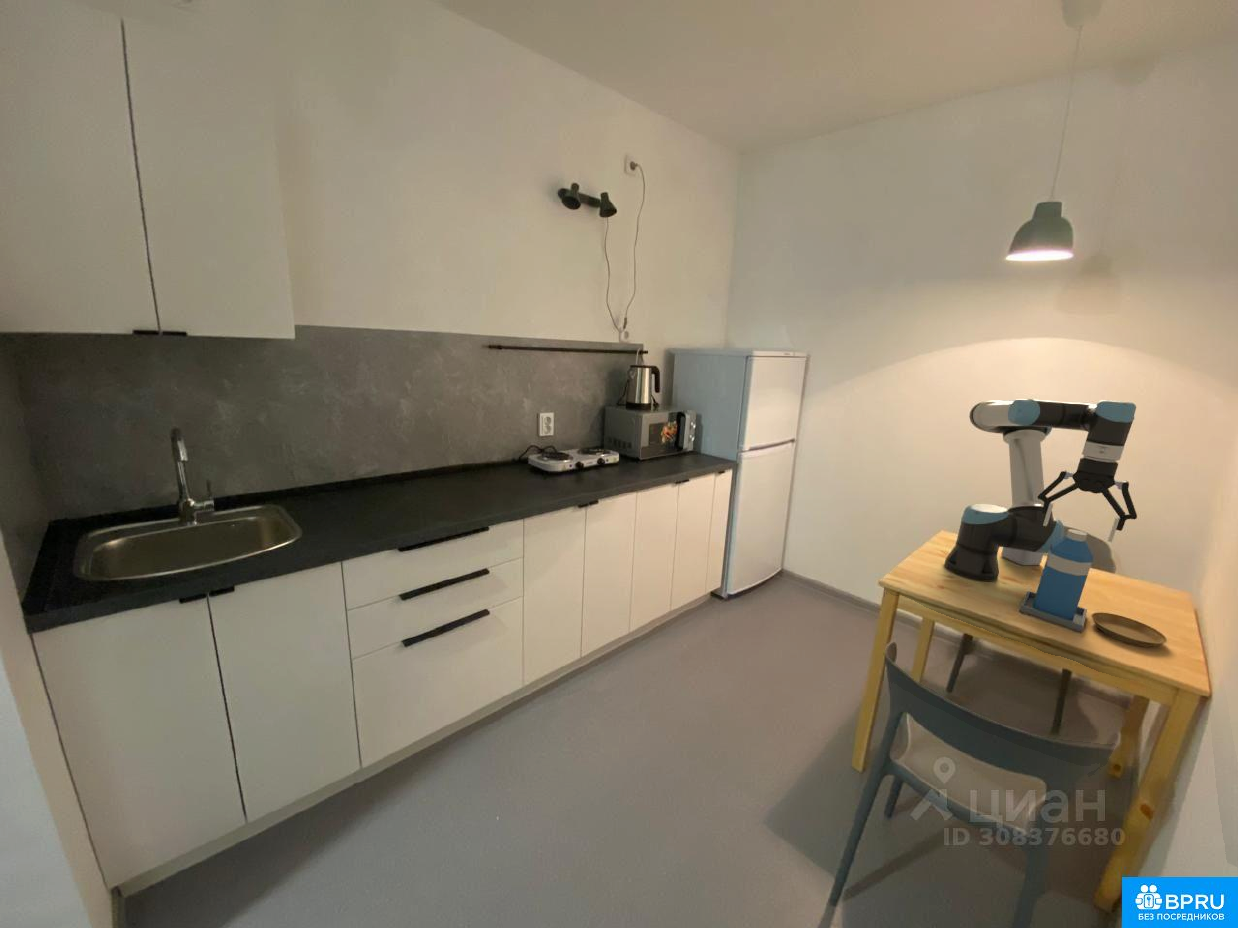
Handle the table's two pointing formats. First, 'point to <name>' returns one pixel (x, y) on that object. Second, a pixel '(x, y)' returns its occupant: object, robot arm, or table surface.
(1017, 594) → the table surface
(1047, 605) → the water bottle
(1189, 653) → the table surface
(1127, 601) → the table surface
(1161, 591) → the table surface
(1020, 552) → the soap bottle
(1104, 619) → the plant saucer
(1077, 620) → the tray
